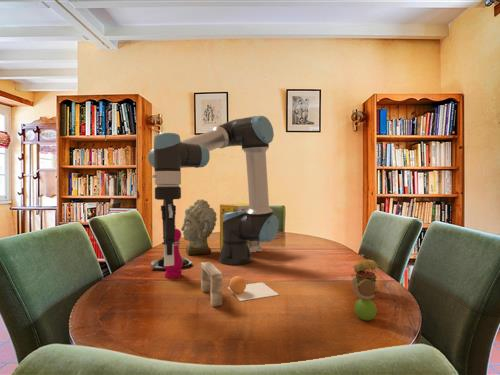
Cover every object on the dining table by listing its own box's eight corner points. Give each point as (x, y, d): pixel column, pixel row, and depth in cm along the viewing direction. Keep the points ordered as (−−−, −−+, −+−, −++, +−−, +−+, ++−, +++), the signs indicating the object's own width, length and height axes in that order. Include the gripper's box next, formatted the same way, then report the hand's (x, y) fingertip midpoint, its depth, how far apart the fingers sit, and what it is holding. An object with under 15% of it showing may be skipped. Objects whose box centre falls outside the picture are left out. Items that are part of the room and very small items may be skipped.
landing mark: (262, 282, 106) (262, 282, 106) (278, 295, 93) (278, 294, 93) (227, 287, 101) (227, 286, 101) (240, 301, 89) (240, 300, 89)
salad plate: (145, 262, 136) (145, 252, 136) (184, 258, 143) (184, 249, 143) (151, 273, 118) (151, 262, 118) (195, 268, 126) (195, 257, 126)
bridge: (209, 289, 99) (209, 261, 99) (222, 305, 86) (222, 273, 86) (201, 290, 98) (201, 262, 98) (212, 306, 85) (212, 274, 85)
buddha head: (179, 250, 160) (179, 199, 160) (213, 248, 166) (213, 198, 166) (182, 257, 144) (182, 200, 144) (219, 254, 150) (219, 199, 150)
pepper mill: (177, 279, 110) (177, 225, 110) (160, 278, 111) (160, 225, 111) (185, 273, 117) (185, 223, 117) (169, 272, 118) (169, 223, 118)
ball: (223, 283, 96) (235, 294, 98) (228, 288, 91) (240, 299, 93) (234, 270, 98) (245, 281, 99) (240, 275, 93) (251, 285, 94)
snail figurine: (347, 315, 79) (347, 270, 79) (370, 314, 79) (370, 270, 79) (356, 324, 73) (356, 276, 73) (380, 323, 74) (380, 276, 74)
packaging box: (238, 255, 148) (238, 205, 148) (219, 250, 160) (219, 204, 160) (261, 250, 159) (261, 204, 159) (242, 246, 171) (242, 203, 171)
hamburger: (366, 296, 92) (366, 258, 92) (349, 289, 99) (349, 253, 99) (383, 292, 96) (383, 255, 96) (365, 286, 102) (365, 251, 102)
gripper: (153, 186, 92) (154, 261, 92) (156, 186, 79) (157, 272, 80) (177, 185, 94) (178, 258, 95) (184, 185, 82) (185, 269, 83)
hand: (169, 265), depth 87 cm, fingers closed
